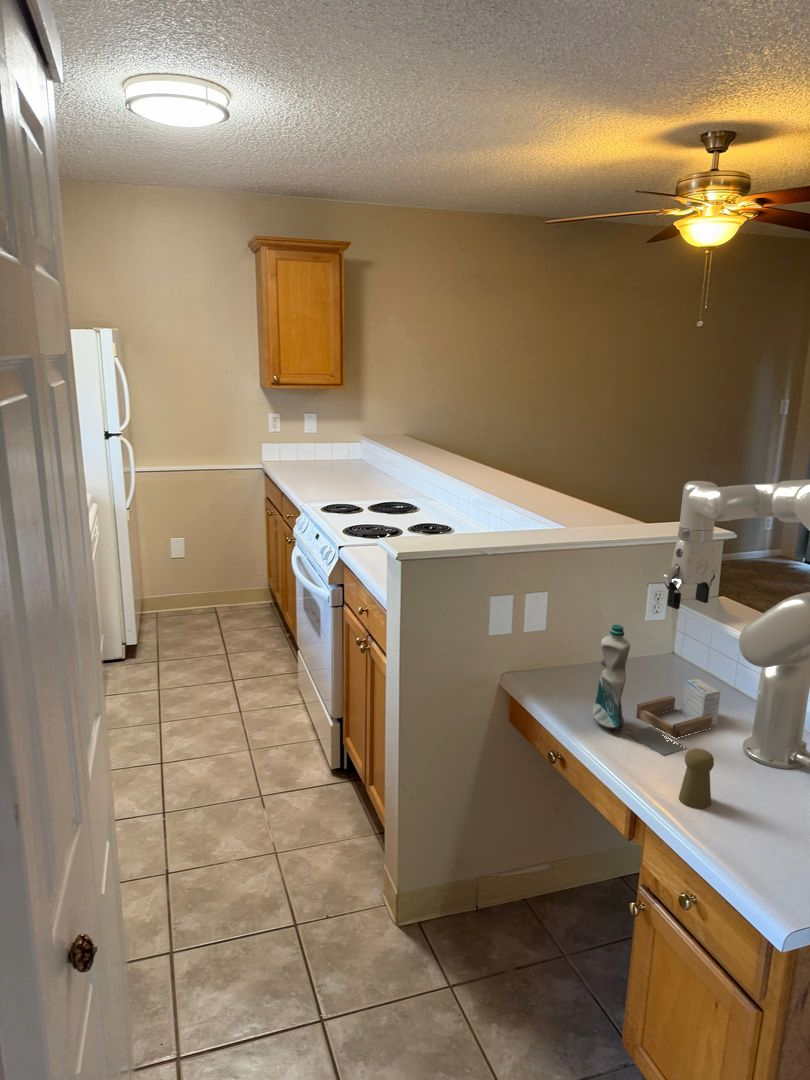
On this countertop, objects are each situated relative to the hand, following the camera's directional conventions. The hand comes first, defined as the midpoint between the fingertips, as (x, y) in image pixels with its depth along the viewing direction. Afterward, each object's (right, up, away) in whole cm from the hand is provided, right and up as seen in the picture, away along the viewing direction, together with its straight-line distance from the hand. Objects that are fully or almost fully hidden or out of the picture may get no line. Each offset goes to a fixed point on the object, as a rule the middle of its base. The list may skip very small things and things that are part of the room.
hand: (687, 604), depth 179 cm
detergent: (-20, -28, -3) cm, 35 cm away
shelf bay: (-4, -28, -2) cm, 28 cm away
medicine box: (+3, -28, +1) cm, 28 cm away
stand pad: (-11, -30, -11) cm, 34 cm away
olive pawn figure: (-11, -36, -34) cm, 50 cm away
